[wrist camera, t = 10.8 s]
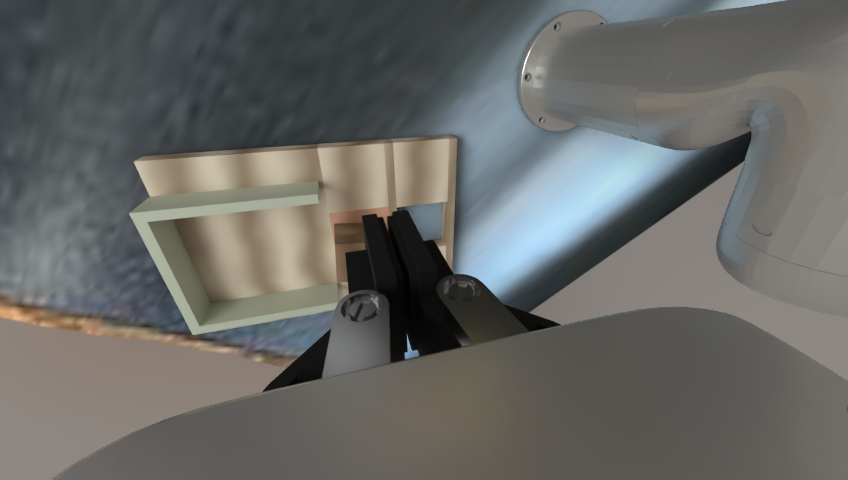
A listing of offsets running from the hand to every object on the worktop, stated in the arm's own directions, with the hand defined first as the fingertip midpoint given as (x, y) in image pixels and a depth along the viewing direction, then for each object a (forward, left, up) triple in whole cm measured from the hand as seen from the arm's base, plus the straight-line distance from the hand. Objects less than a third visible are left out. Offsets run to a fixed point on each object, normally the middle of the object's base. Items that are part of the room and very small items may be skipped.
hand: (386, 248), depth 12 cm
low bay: (+12, +13, -25) cm, 31 cm away
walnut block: (+1, +14, -25) cm, 29 cm away
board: (+4, +13, -27) cm, 30 cm away
